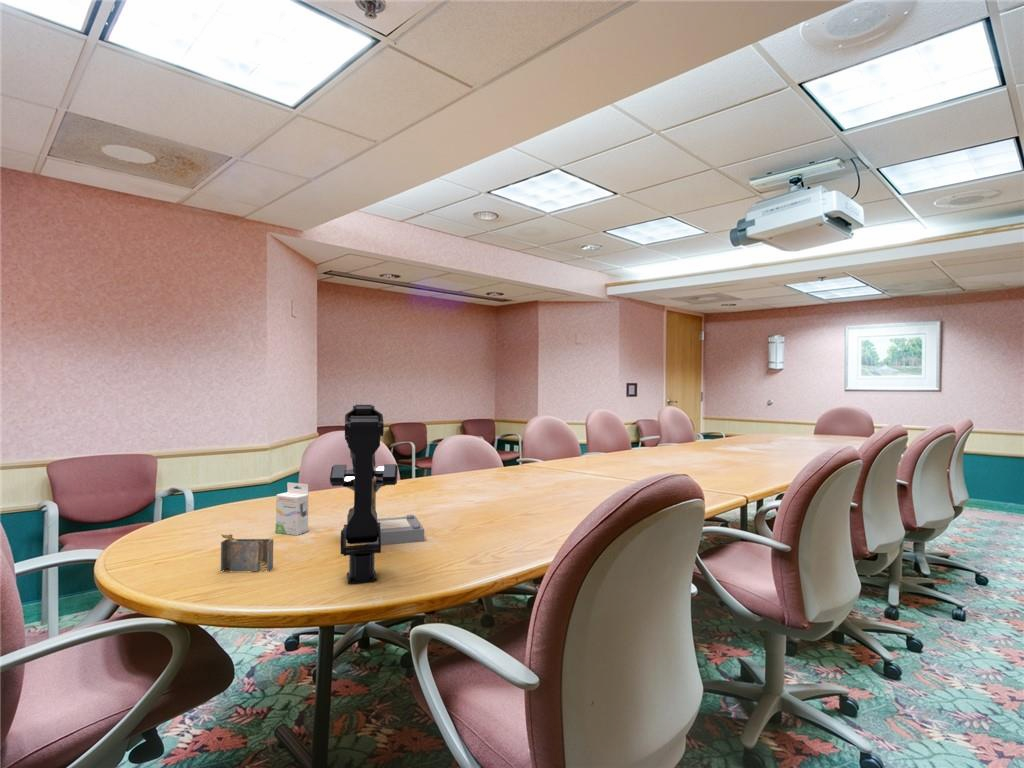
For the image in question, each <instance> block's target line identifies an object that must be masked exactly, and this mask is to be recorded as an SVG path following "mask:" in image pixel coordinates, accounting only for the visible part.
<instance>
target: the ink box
mask: <svg viewBox="0 0 1024 768" xmlns="http://www.w3.org/2000/svg"><path fill="white" fill-rule="evenodd" d="M286 486H287V487H286V488H287V489H286V490H287V491H286V492H282V493H278V494H276V496H275V497H276V501H275V533H276V534H281V533H284V534H283V535H289V534H291V535H290V536H296V535H298V536H300V535H302V533H303V534H305V533H307V532H309V484H308V483H299V482H289V481H288V482H287V484H286ZM296 487H298V488H296ZM299 534H300V535H299Z"/></svg>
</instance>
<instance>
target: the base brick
mask: <svg viewBox="0 0 1024 768" xmlns="http://www.w3.org/2000/svg"><path fill="white" fill-rule="evenodd" d="M377 521H378V522H380V531H381V546H384V545H385V544H386V545H394V544H395V543H397V544H405V543H406V542H408V543H417V542H416V541H420V542H424V541H425V528H424V526H423V525H422V524H421V522H420V521H419V518H417V516H416V515H414V514H407V515H406V516H399V517H397V516H396V517H386V518H377ZM366 544H378V537H377V541H375V543H366ZM406 544H407V543H406Z"/></svg>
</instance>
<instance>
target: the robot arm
mask: <svg viewBox="0 0 1024 768" xmlns="http://www.w3.org/2000/svg"><path fill="white" fill-rule="evenodd" d="M384 428H385V427H384V416H383V414H382V413H381V412H379V411H378V410H376V409H375V405H373V404H355V405H352V409H351V410H350V411H349V412H347V413H346V414H344V440H345V441H346V444H347V447H348V449H349V451H350V453H349V454H350V458H351V462H352V463H351V464H352V468H351V469H349V468H348V469H347V467H348V465H347V464H334V465H333V466H331V470H330V476H329V483H330V484H329V485H331V486H332V487H343V488H347V489H350V490H351V491H353V494H354V495H353V507H352V508H349V510H348V513H347V516H346V517H347V519H346V524H344V525H343V528H342V530H340V555H343V557H346V556H349V557H348V558H349V560H348V562H349V563H348V564H349V566H348V567H349V569H348V572H346V581H347V584H348V585H351V584H360V583H368V582H376V581H378V577H377V572H376V570H375V554H381V553H382V545H381V531H380V522H378V521H377V519H378V513H377V510H376V509H375V508H374V507H372V506H371V505H372V479H376V484H375V492H376V493H377V492H378V491H379V490H380V489H381V488H382V487H386V486H395V485H397V483H398V474H399V466H398V465H397V463H384V465H383V466H378V467H377V468H375V467H376V452H377V451H378V449H379V448H380V446H381V437H384V432H385V431H384ZM377 537H378V544H367V543H375V541H377ZM347 544H348V545H347Z"/></svg>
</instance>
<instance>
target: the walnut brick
mask: <svg viewBox="0 0 1024 768" xmlns="http://www.w3.org/2000/svg"><path fill="white" fill-rule="evenodd" d="M375 484H376V478H374V479H372V505H371V506H372V507H374V508H375V509H376V507H377V506H376V505H377V503H376V502H377V497H376V495H377V492H375Z"/></svg>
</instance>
